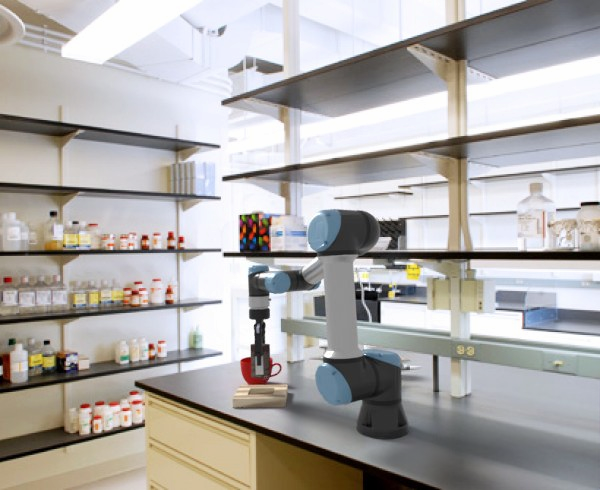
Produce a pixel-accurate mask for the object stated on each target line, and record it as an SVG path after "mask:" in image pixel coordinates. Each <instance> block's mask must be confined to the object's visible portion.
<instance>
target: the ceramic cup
mask: <svg viewBox="0 0 600 490" xmlns="http://www.w3.org/2000/svg"><path fill="white" fill-rule="evenodd" d="M273 361H274V360H273V358H272V357H271V356H270V377H269V378H267V379H264V380H263V379H258V378H253V377H251V356H247V357H243V358H241V359H240V362H239V363H240V372H241V376H242V378H243V380H244V381H245V382H246V383H247V385H267V382H269V380H270V379H271V378H273V377H276V376H278V375H279V374H280V373H281V372H282V369H283V367H282V365H281V363H279V362H275V363H273ZM275 366H278V368H279V370H278V371H277V372H276V373H274V374H272V372H273V371H272V370H273V368H274V367H275Z"/></svg>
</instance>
